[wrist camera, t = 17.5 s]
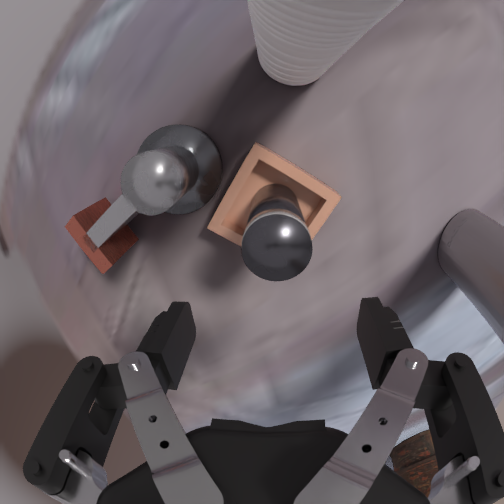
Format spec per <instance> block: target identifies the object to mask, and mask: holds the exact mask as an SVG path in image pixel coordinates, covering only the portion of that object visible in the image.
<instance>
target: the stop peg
mask: <svg viewBox="0 0 504 504" xmlns="http://www.w3.org/2000/svg"><path fill="white" fill-rule="evenodd" d="M241 247H242V249H241V250H242V257H243V260H244V262H245V264H246V266H247V267H248V268H249V269H250V270H251V272H253V273H254V274H255V275H257V276H258V277H260V278H263V279H266V280H270V281H284V280H288V279H291V278H293V277H295V276H297V275H298V274H300V273H301V272H302V271H303V270H304V269H305V268H306V266H307V265H308V263H309V261H310V259H311V256H312V240H311V236H310V233H309V230H308V228H307V226H306V223H305V220H304V217H303V214H302V211H301V209H300V206H299V203H298V200H297V197H296V195H295V194H294V192H293V191H292V190H291V189H290V188H288V187H287V186H285V185H282V184H269V185H266V186H264V187H262V188H261V189H259V190H258V191H257V193H256V194H255V196H254V198H253V202H252V206H251V210H250V213H249V217H248V221H247V225H246V228H245V231H244V234H243V238H242V246H241Z"/></svg>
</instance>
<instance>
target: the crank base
mask: <svg viewBox="0 0 504 504" xmlns="http://www.w3.org/2000/svg"><path fill="white" fill-rule="evenodd" d="M172 145H177V146H182V147H184V148H186V149H188V150H189V151H190V152H191V153H192V154H193V155H194V156H195V158H196V160H197V162H198V166H199V176H198V180H197V182H196V184H195V186H194V187H193V188H192V189H191V190H190V191H189V192H188V193H187V194H185V195H184V196H183V197H182V198H181V199H179V200H178V201H177V202H176V203H175V204H174V205H173V206H171V207H170V208H169V209H168V210H166V211H165V212H167V213H171V214H185V213H190V212H193V211H195V210H197V209H199V208H201V207H202V206H204V205H205V204H206V203H207V202H208V201H209V200H210V199H211V198H212V196H213V195H214V194H215V192H216V190H217V189H218V186H219V184H220V181H221V176H222V161H221V156H220V153H219V151H218V149H217V147H216V145H215V143H214V142H213V141H212V139H211V138H210V137H209V136H208V135H206V134H205V133H204V132H202V131H201V130H199V129H197V128H195V127H192V126H188V125H170V126H165V127H162V128H160V129H158V130H156V131H155V132H153V133H152V134H151V135H149V136H148V137H147V138H146V140H145V141H144V142H143V143H142V145H141V146H140V148H139V151H138V153H137V154H139V153H143V152H147V151H150V150H154V149H158V148H163V147H167V146H172Z"/></svg>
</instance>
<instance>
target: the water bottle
mask: <svg viewBox="0 0 504 504" xmlns="http://www.w3.org/2000/svg"><path fill="white" fill-rule="evenodd" d="M247 1H248V6H249V14H250V18H251V22H252V27H253V32H254V37H255V43H256V47H257V53H258V59H259V62H260V65H261V66H262V68H263V70H264V71H265V72H266V73H267V74H268V75H269V76H270V77H271V78H273V79H274V80H276V81H278V82H280V83H283V84H286V85H292V86H298V85H299V86H300V85H306V84H309V83H312V82H314V81H316V80H317V79H318V78H320V77H321V76H322V75H323V74H324V73H325V72H326V71H327V70H328V69H329V68H330V67H331V66H332V65H333V64H334V63H335V62H336V61H337V60H338V59H339V58H340V57H341V56H342V55H343V54H344V53H346V52H347V51H348V49H350V48H351V47H352V46H353V45H354V44H355V43H356V42H357V41H358V40H359V39H360V38H361V37H362V36H363V35H364V34H365V33H366V32H368V31H369V30H370V29H371V28H372V27H373V26H375V25H376V24H377V23H378V22H379V21H380V20H382V19H383V18H384V17H385V16H386V15H387V14H389V13H390V12H391V11H392V10H393V9H395V8H396V7H397V6H398V5H399V4H400V3H401V2H403V1H405V0H247Z"/></svg>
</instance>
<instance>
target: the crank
mask: <svg viewBox="0 0 504 504" xmlns="http://www.w3.org/2000/svg"><path fill="white" fill-rule="evenodd" d="M198 176H199V166H198V162H197V160H196V158H195V156H194V155H193V154H192V153H191V152H190V151H189V150H188V149H186V148H184V147H182V146H177V145H172V146H167V147H163V148H158V149H154V150H150V151H147V152H143V153H139V154H137V155H135V156H134V157H132V158H131V159H130V160H129V161H128V162H127V164H126V165H125V167H124V169H123V171H122V175H121V190H122V193H123V194H122V195H121V196H120V197H119V198H118V199H117V200H116V201H115V202H114V203H113V204H112V205H111V204H110V202H109V201H108V200H107V198H106V197H105V198H104V199H102V200H100V201H98V202H96V203H94V204H93V205H91V206H89V207H87V208H86V209H84V210H82V211H80V212H79V213H77V214H75V215H73V217H72V218H71V219H70V221H69V222H68V223H67V225H66V226H65V228H66V229H67V230H68V232H69V233H70V234H71V236H72V237H73V238H74V239H75V241H76V242H77V243H78V245H79V246H80V247H81V248H82V250H83V251H84V252H85V254H86V255H87V256H88V257H89V258H90V260H91V261H92V262H93V263H94V265H95V266H96V267H97V268H98V269H99V270H100V272H101V273H102V274H104V273H105V272H106V271H107V270H108V269H109V268H110V267H111V266H112V265H113V264H114V263H115V262H116V261H117V260H118V259H119V258H120V257H121V256H122V255H123V254H124V253H125V252H126V251H127V250H128V249H129V248H130V247H131V246H132V245H133V244H134V243H135V242H136V241H138V240H139V239H138V238H137V236H136V235H135V234H134V233H133V232H132V230H131V229H130V228H129V227H128V225H127V224H128V223H129V222H130V221H131V220H132V219H133V218H134V217H135V216H137V215H138V214H139V213H141V214H145V215H158V214H161V213H163V212H165V211H166V210H168V209H169V208H170V207H171V206H173V205H174V204H175V203H176V202H177V201H178V200H179V199H181V198H182V197H183V196H184V195H185V194H187V193H188V192H189V191H190V190H191V189H192V188H193V187H194V186H195V184H196V182H197V180H198Z"/></svg>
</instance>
